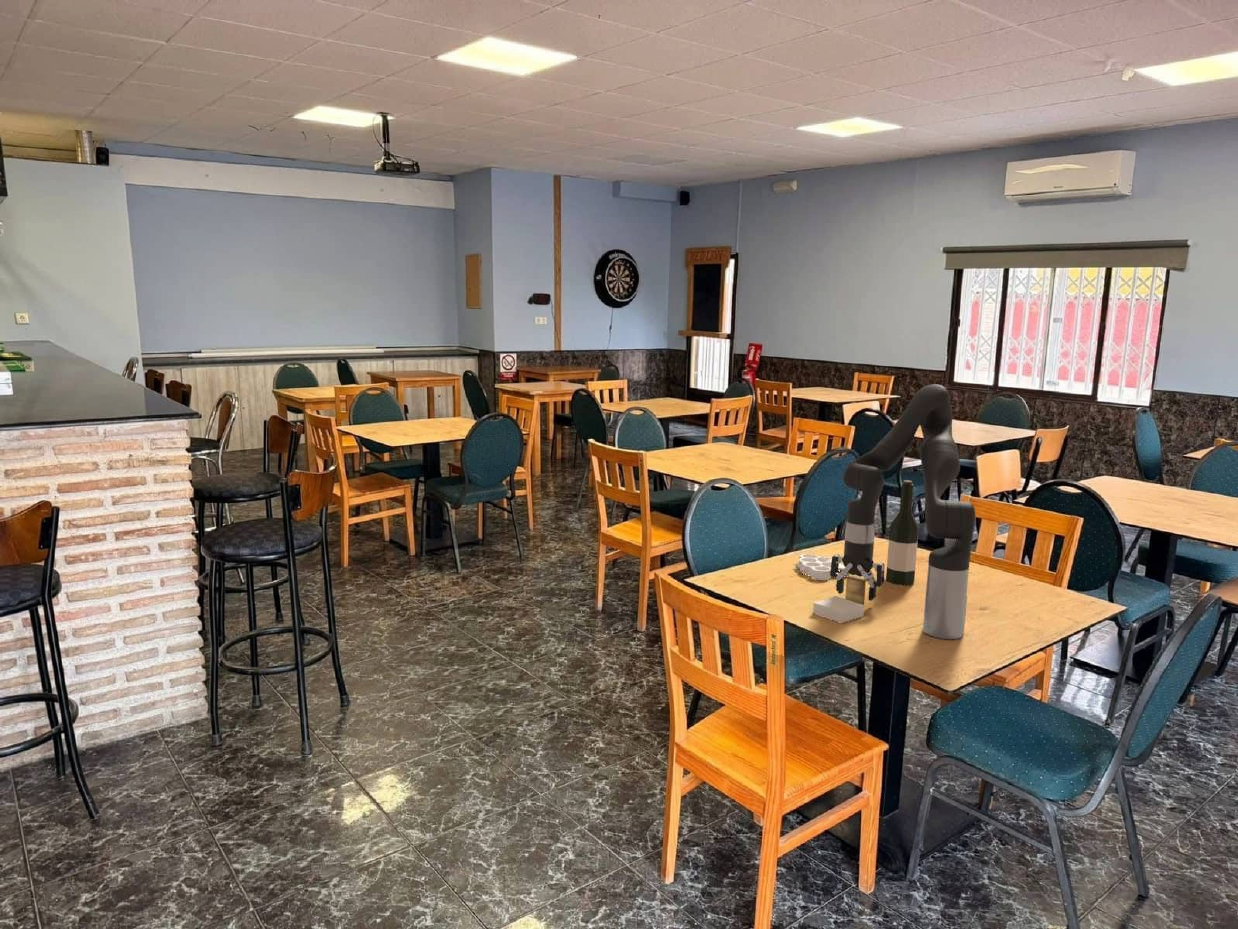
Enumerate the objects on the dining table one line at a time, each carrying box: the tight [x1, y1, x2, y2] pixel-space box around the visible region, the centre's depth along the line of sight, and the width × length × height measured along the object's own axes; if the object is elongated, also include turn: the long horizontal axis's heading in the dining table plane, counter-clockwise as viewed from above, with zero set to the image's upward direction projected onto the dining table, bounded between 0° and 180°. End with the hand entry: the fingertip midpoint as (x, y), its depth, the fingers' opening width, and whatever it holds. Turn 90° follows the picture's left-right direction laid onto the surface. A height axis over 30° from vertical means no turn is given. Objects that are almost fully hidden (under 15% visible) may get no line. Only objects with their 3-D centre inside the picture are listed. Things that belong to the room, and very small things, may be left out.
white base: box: [812, 595, 865, 624], centre depth 216 cm, size 9×9×3 cm
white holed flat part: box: [793, 553, 850, 581], centre depth 252 cm, size 3×18×15 cm
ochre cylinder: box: [844, 575, 867, 606], centre depth 224 cm, size 5×5×7 cm
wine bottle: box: [885, 479, 920, 587], centre depth 242 cm, size 8×8×30 cm
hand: (855, 596), depth 225 cm, fingers open, 8 cm apart
